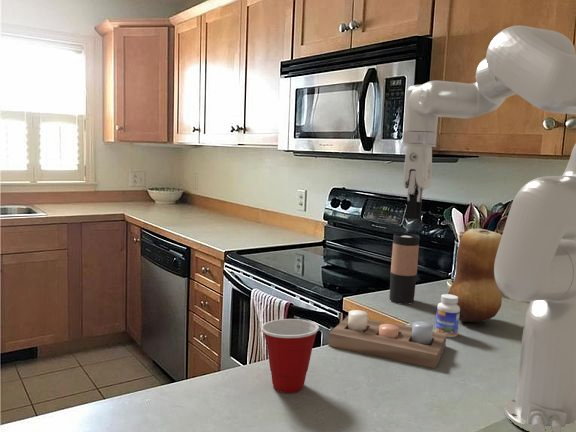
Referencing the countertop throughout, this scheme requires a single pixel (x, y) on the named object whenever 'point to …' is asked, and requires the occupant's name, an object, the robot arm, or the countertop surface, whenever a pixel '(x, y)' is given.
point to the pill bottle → (448, 315)
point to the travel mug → (404, 267)
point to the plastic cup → (289, 351)
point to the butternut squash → (477, 276)
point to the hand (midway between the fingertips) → (413, 218)
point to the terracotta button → (388, 330)
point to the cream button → (357, 321)
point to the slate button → (422, 333)
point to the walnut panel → (389, 343)
